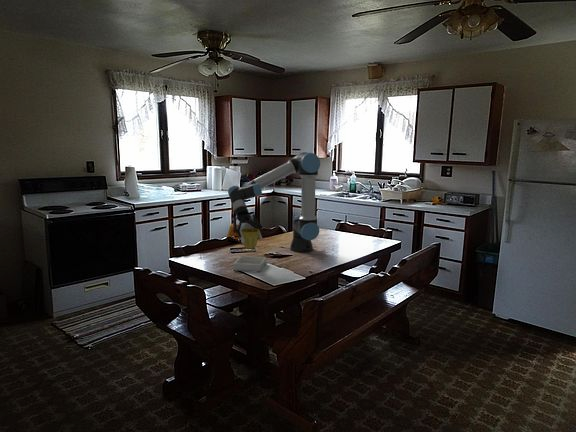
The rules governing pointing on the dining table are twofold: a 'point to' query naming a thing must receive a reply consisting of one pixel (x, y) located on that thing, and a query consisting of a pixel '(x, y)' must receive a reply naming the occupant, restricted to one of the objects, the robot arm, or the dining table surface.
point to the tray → (249, 263)
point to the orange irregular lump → (232, 232)
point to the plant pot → (250, 237)
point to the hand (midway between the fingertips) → (252, 241)
